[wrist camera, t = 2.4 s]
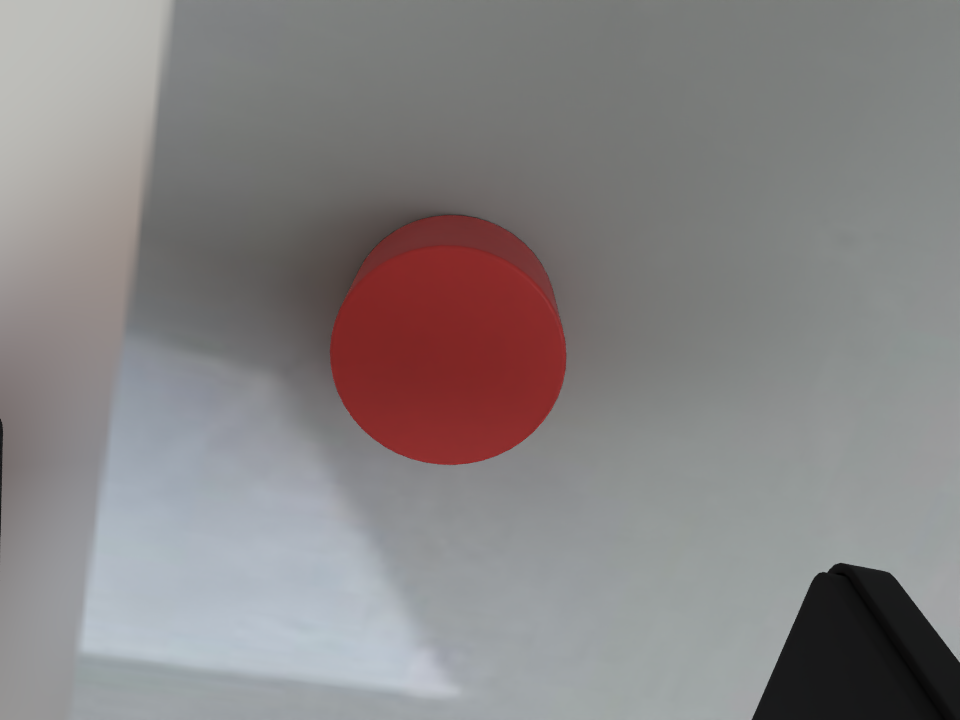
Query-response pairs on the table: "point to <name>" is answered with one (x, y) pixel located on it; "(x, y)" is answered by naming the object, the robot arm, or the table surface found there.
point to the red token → (449, 342)
